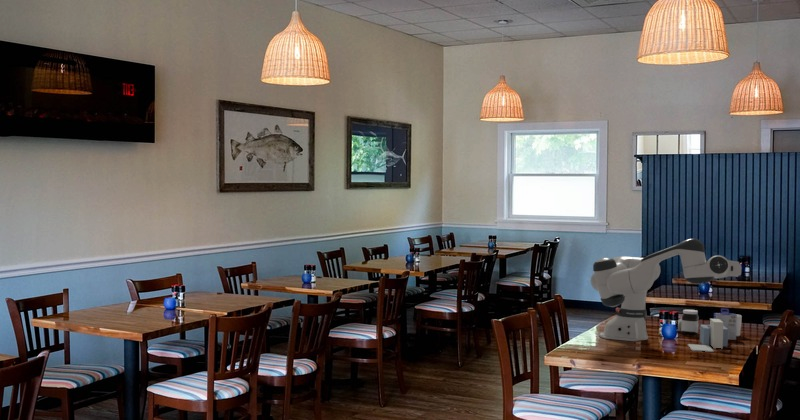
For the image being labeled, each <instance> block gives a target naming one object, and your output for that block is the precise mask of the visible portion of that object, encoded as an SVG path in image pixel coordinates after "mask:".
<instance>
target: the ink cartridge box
mask: <svg viewBox="0 0 800 420" xmlns="http://www.w3.org/2000/svg"><path fill="white" fill-rule="evenodd" d="M737 315H738V314H737ZM737 315H736V313H731V312H730V309H729V308H722V307H721V308H720V312H713V319H720V320H721V321H722V322H723V326H725V327H726V328H727V329H728V341H731V340H733V341H736V340H737V336H736V321H737Z"/></svg>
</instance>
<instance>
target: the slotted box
mask: <svg viewBox="0 0 800 420" xmlns="http://www.w3.org/2000/svg"><path fill="white" fill-rule="evenodd" d="M709 335H710V324H699V342H700V344H701V345H709V346H710V344H709ZM728 344H729V340H728V329H727V328H726V327H725V326H723V347H726V348H727V347H728Z"/></svg>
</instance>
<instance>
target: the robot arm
mask: <svg viewBox="0 0 800 420" xmlns="http://www.w3.org/2000/svg"><path fill="white" fill-rule="evenodd" d="M705 252H706V251H705V244H704V243H703V242H702V241H701V240H699V239H698V238H688V239H685V240H683V241H681V242H679V243H677V244H675V245H672V246H670V247H667V248H665V249H661V250H659V251H656V252H653V253H651V254H648V255H647V256H645V257H639V256H638V257H637V256H628V255H627V256H626V255H622V256H621V255H620V256H614V257H602V258H598V259H597V260H596V261H594V263H593V266H592V271H593V274H592V275H591V276H590V285H591V286H592V288H593V289H594V290H595V291H597V292H598V294H599V297H600V301H601V303H602V305H603V306H605V307H608V308H609V307H610V308H615V307H616V308H615V312H616V316H614V317H613V318H611V319H610V320H609V321H606V324H604V325H605V326H604V328H603V331H602V332H600V333H599V335H598V336H599V337H600V338H602V339H606V340H615V341H616V340H617V341H628V342H638V341H647V340H648V339H649V336H648V333H647V327H646V326H647V325H646V321H647V309H646V303H647V302H646V301H647V300H646V299H647V294H648V290H650V289H651V287H652V286H653V284H654V282H655V281H656V280H657V279H658V278H659V277H660V274H661V265H660V263H661V262H662V261H664V260H667V259H670V258H672V257H675V256H679V257H680V261H681V266H682V272H683V276H684V280H686V281H687V282H689V283H690V284H698V285H699V284H705V283H710V282H712V281H713V280H714V279H723V278H738V277H739V276H741V275H742V265H741V264H740V261H736V260H730V259H727V258H726V256H723V255H719V254H717V255H713V256H711V257H710V258H709V259H708V260H707V259H706V254H705ZM620 305H621V306H620ZM618 306H620V307H618Z"/></svg>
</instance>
